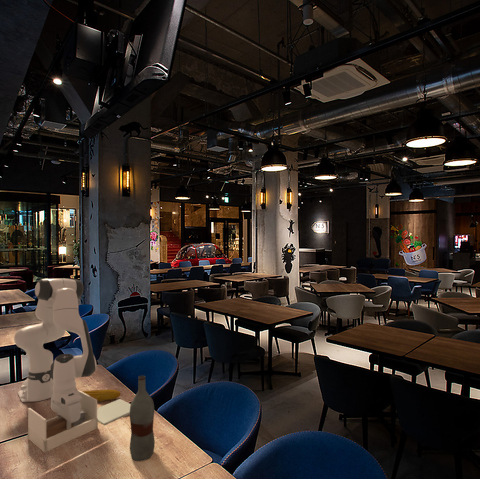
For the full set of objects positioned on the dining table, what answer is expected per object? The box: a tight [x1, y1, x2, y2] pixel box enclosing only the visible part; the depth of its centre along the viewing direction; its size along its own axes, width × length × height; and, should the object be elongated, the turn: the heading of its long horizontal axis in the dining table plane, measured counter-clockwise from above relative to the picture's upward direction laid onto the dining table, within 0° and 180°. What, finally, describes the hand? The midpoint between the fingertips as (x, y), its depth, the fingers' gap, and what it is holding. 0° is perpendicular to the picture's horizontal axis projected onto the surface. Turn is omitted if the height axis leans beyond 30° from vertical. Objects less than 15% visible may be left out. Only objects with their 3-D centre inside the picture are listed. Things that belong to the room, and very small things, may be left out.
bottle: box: [128, 375, 156, 462], centre depth 131 cm, size 9×9×30 cm
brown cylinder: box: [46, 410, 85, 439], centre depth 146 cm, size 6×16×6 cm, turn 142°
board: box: [97, 398, 131, 426], centre depth 164 cm, size 16×18×1 cm
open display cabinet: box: [27, 390, 99, 453], centre depth 146 cm, size 16×22×13 cm
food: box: [81, 389, 121, 403], centre depth 177 cm, size 21×6×6 cm, turn 106°
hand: (64, 425), depth 146 cm, fingers closed on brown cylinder, 5 cm apart
